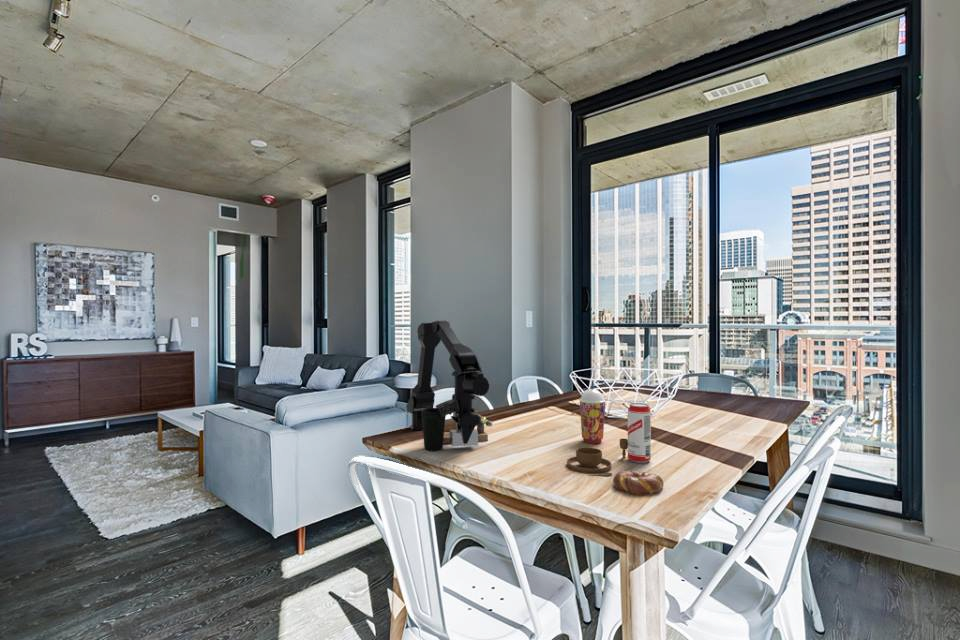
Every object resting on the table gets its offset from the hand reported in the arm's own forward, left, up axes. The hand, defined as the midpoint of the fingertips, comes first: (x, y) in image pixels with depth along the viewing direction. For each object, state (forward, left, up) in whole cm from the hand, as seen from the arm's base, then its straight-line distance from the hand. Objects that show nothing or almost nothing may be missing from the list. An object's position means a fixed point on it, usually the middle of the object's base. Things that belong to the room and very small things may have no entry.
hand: (463, 441), depth 148 cm
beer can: (+26, +45, -2) cm, 52 cm away
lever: (-9, +9, +4) cm, 13 cm away
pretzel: (+44, +32, -3) cm, 55 cm away
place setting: (+27, +33, -3) cm, 43 cm away
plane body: (-10, +2, -2) cm, 11 cm away
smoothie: (+3, +43, -2) cm, 43 cm away
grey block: (0, 0, -1) cm, 1 cm away
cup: (-2, -9, -2) cm, 10 cm away
